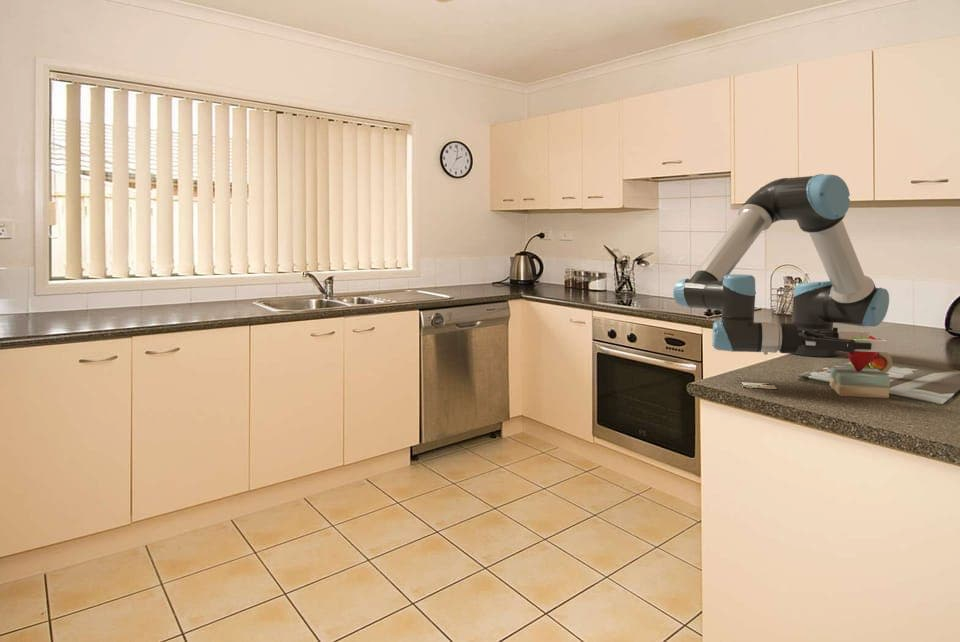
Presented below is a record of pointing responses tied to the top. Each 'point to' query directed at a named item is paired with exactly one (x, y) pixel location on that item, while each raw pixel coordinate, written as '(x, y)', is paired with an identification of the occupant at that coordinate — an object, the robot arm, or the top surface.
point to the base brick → (860, 382)
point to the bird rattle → (880, 360)
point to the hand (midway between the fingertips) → (877, 341)
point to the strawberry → (861, 357)
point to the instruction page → (753, 384)
